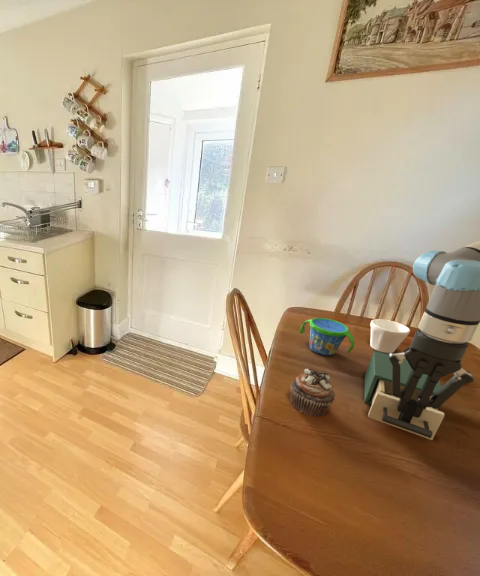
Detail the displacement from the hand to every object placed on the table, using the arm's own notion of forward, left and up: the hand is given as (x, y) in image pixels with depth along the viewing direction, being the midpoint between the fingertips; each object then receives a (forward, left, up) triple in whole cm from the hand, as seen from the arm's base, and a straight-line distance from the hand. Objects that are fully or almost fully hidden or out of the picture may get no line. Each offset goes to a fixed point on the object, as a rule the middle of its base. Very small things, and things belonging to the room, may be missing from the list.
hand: (402, 424), depth 73 cm
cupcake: (+18, +1, -4) cm, 18 cm away
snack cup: (+18, -33, -4) cm, 37 cm away
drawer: (0, -6, -3) cm, 7 cm away
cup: (+2, -47, -4) cm, 47 cm away
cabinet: (0, -17, -4) cm, 17 cm away
